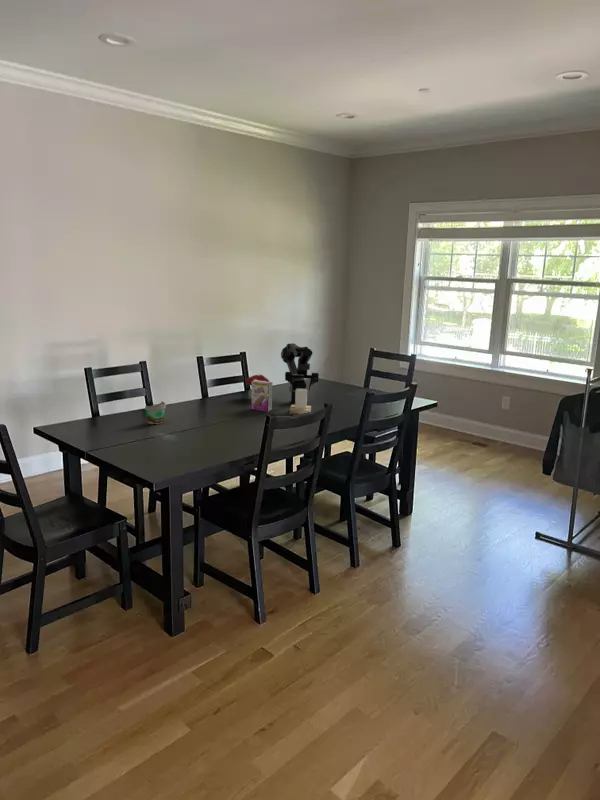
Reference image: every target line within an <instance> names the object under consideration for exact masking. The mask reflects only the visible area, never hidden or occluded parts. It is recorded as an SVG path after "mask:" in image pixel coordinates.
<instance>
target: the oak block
mask: <svg viewBox="0 0 600 800" xmlns="http://www.w3.org/2000/svg"><path fill="white" fill-rule="evenodd" d="M311 411H312V405H307V407H306V409H297V408H295V404H291V405H290V407H289V415H292V414H291V413H298V414H297V415H300V414H303V413H308V412H310V413H311Z"/></svg>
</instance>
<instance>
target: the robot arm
mask: <svg viewBox="0 0 600 800" xmlns="http://www.w3.org/2000/svg"><path fill="white" fill-rule="evenodd" d="M312 356H313V351H312V349H310V348H309V347H308V346H299V345H297V344H296V343H287V344H286V346H285V347H283V348H282V350H281V353H280V358H281V359H282V361H283V362H284V363H285V364H286V365H287V368H288V371H285V373H284V381H287V382H288V383H289V384H290V386H288V388H289V389H288V390H289V393H291V395H290V396H291V397H290V398H291V399H290V401H289V402H290V403H294V404H295V391H296V389H307V382H306V381H305V379H308V380H309V385H308V391H310V390H311V388H312V387H313V385H315V384H316V383H319V381H320V379H319V377H320V374H319V372H311V374H308V371H310V370H311V369H310V368H311V363H309V361H310V360H311V358H312ZM295 358H298V359H297V365H296V361H295V360H296V359H295Z"/></svg>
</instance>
